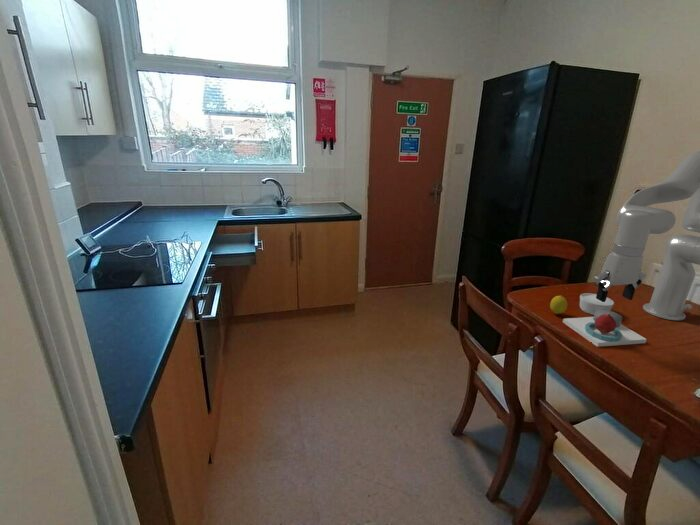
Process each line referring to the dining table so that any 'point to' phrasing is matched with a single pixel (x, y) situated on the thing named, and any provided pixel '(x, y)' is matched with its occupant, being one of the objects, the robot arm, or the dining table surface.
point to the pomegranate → (605, 323)
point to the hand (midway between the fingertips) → (613, 299)
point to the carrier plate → (616, 337)
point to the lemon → (558, 304)
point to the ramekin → (594, 303)
